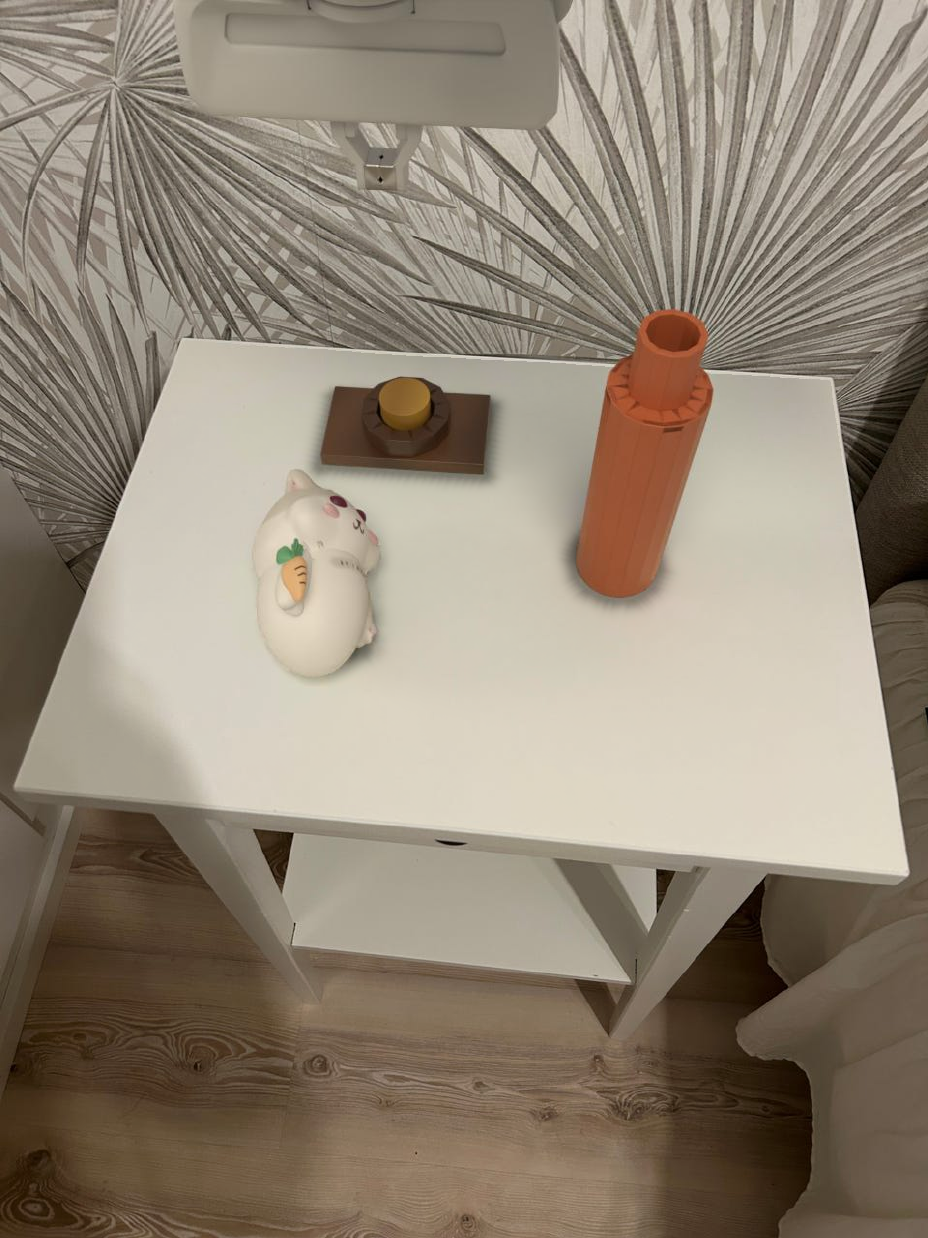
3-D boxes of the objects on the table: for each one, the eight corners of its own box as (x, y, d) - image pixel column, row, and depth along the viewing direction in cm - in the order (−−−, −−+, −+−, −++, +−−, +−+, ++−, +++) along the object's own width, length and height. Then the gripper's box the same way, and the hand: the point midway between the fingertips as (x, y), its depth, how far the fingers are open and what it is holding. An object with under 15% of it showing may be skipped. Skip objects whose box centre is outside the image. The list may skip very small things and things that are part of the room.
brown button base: (490, 404, 75) (491, 378, 72) (483, 474, 71) (483, 449, 68) (336, 395, 75) (331, 369, 73) (322, 464, 72) (316, 439, 69)
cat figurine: (312, 636, 53) (307, 426, 59) (213, 670, 56) (217, 469, 62) (404, 676, 60) (391, 487, 66) (312, 704, 64) (307, 522, 70)
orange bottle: (645, 526, 68) (712, 288, 49) (666, 591, 65) (745, 366, 46) (568, 535, 68) (605, 300, 49) (585, 602, 65) (631, 379, 46)
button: (433, 394, 72) (432, 378, 70) (428, 432, 70) (427, 416, 68) (384, 391, 72) (382, 375, 70) (377, 429, 70) (375, 413, 68)
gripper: (581, -111, 43) (557, 161, 55) (167, -124, 44) (231, 145, 56) (578, -47, 40) (553, 226, 52) (132, -63, 41) (208, 209, 53)
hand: (383, 184), depth 54 cm, fingers closed
